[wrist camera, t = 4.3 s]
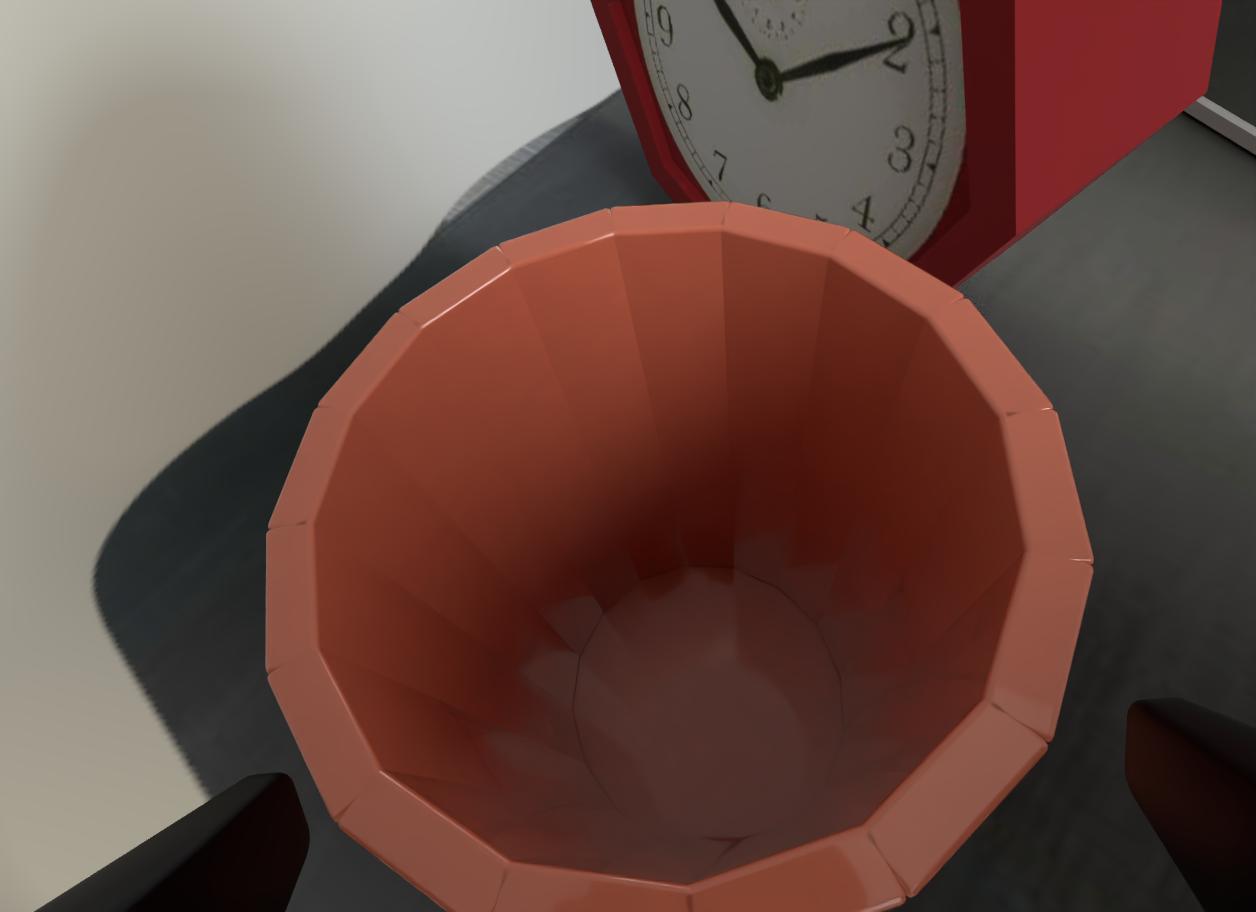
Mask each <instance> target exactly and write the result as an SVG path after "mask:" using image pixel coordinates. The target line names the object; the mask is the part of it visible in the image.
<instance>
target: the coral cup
mask: <svg viewBox="0 0 1256 912" xmlns="http://www.w3.org/2000/svg"><path fill="white" fill-rule="evenodd" d="M318 406H319V407H318V408H316V409H315V410H314V412H313V414H312V417H311V419H310V422H309V424H308V427H307V429H306V432H305V434H304V437H303V439H302V442H301V444H300V447H299V449H298V452H297V454H296V457H295V459H294V462H293V464H292V467H291V469H290V472H289V474H288V477H287V479H286V482H285V484H284V487H283V489H282V492H281V494H280V497H279V499H278V501H277V504H276V506H275V509H274V511H273V514H272V516H271V519H270V521H269V524H268V528H269V531H268V532H267V534H266V671H267V673H268V674H269V675H268V682H269V684H270V686H271V688H272V690H273V693H274V695H275V697H276V699H277V701H278V703H279V706H280V708H281V710H282V712H283V714H284V716H285V719H286V721H287V723H288V725H289V727H290V729H291V732H292V734H293V736H294V738H295V740H296V742H297V745H298V747H299V749H300V751H301V753H302V756H303V758H304V760H305V762H306V764H307V766H308V769H309V771H310V773H311V775H312V777H313V779H314V782H315V784H316V786H317V788H318V790H319V792H320V795H321V797H322V799H323V801H324V803H325V805H326V808H327V810H328V812H329V814H330V816H331V818H332V820H334V821H335V822H336V823H338V826H339V828H340V829H341V831H342V832H344V833H345V834H346V835H348V836H349V837H350V838H352V839H353V840H354V841H355V842H357V843H358V844H359V845H361V846H362V847H363V848H364V849H366V850H367V851H368V852H370V853H371V854H372V855H374V856H375V857H376V858H377V859H379V860H380V861H381V862H383V863H384V864H385V865H387V866H388V867H389V868H390V869H392V870H393V871H394V872H396V873H397V874H398V875H399V876H401V877H402V878H403V879H405V880H406V881H407V882H409V883H410V884H411V885H412V886H414V887H415V888H416V889H418V890H419V891H420V892H421V893H423V894H424V895H425V896H427V897H428V898H429V899H431V900H432V901H433V902H434V903H436V904H437V905H438V906H440V907H441V908H442V909H444V910H445V911H446V912H885V911H888V910H891V909H894V908H897V907H900V906H902V905H903V903H904V902H905V901H906V897H908V898H912V897H915V896H917V895H918V894H919V893H920V892H921V891H922V890H923V888H924V887H925V886H926V885H927V884H928V883H929V882H930V881H931V880H932V879H933V877H934V876H935V875H936V874H937V873H938V872H939V871H940V870H941V869H942V868H943V866H944V865H945V864H946V863H947V862H948V861H949V860H950V859H951V858H952V857H953V855H954V854H955V853H956V852H957V851H958V850H959V849H960V848H961V847H962V846H963V844H964V843H965V842H966V841H967V840H968V839H969V838H970V837H971V836H972V835H973V833H974V832H975V831H976V830H977V829H978V828H979V827H980V826H981V825H982V824H983V822H984V821H985V820H986V819H987V818H988V817H989V816H990V815H991V814H992V813H993V811H994V810H995V809H996V808H997V807H998V806H999V805H1000V804H1001V803H1002V802H1003V800H1004V799H1005V798H1006V797H1007V796H1008V795H1009V794H1010V793H1011V792H1012V790H1013V789H1014V788H1015V787H1016V786H1017V785H1018V784H1019V783H1020V782H1021V781H1022V779H1023V778H1024V777H1025V776H1026V775H1027V774H1028V773H1029V772H1030V771H1031V770H1032V768H1033V767H1034V766H1035V765H1036V764H1037V763H1038V762H1039V761H1040V760H1041V759H1042V757H1043V756H1044V755H1045V754H1046V753H1047V749H1048V745H1047V744H1048V743H1050V742H1051V741H1052V740H1053V739H1054V736H1055V732H1056V728H1057V724H1058V720H1059V715H1060V711H1061V707H1062V703H1063V699H1064V694H1065V690H1066V686H1067V682H1068V678H1069V674H1070V669H1071V665H1072V661H1073V657H1074V653H1075V649H1076V644H1077V640H1078V636H1079V632H1080V628H1081V623H1082V619H1083V615H1084V611H1085V607H1086V603H1087V598H1088V594H1089V590H1090V586H1091V582H1092V578H1093V567H1092V566H1091V565H1093V561H1094V557H1093V553H1092V549H1091V545H1090V541H1089V537H1088V533H1087V529H1086V525H1085V521H1084V517H1083V513H1082V509H1081V505H1080V501H1079V497H1078V493H1077V489H1076V485H1075V481H1074V477H1073V473H1072V469H1071V465H1070V461H1069V457H1068V453H1067V449H1066V445H1065V441H1064V437H1063V433H1062V429H1061V425H1060V421H1059V417H1058V413H1057V412H1056V411H1055V410H1053V405H1052V403H1051V402H1050V400H1049V399H1048V398H1047V397H1046V395H1045V394H1044V393H1043V391H1042V390H1041V389H1040V388H1039V386H1038V385H1037V384H1036V383H1035V381H1034V380H1033V379H1032V378H1031V376H1030V375H1029V374H1028V373H1027V371H1026V370H1025V369H1024V368H1023V366H1022V365H1021V364H1020V363H1019V361H1018V360H1017V359H1016V358H1015V356H1014V355H1013V354H1012V353H1011V351H1010V350H1009V349H1008V348H1007V346H1006V345H1005V344H1004V343H1003V341H1002V340H1001V339H1000V337H999V336H998V335H997V334H996V332H995V331H994V330H993V329H992V327H991V326H990V325H989V324H988V322H987V321H986V320H985V319H984V317H983V316H982V315H981V314H980V312H979V311H978V310H977V309H976V307H975V306H974V305H973V304H972V302H971V301H970V300H969V299H967V298H964V295H963V294H962V293H961V292H959V291H958V290H956V289H954V288H953V287H951V286H949V285H948V284H946V283H944V282H942V281H941V280H939V279H937V278H936V277H934V276H932V275H931V274H929V273H927V272H926V271H924V270H922V269H921V268H919V267H917V266H915V265H914V264H912V263H910V262H909V261H907V260H905V259H904V258H902V257H900V256H899V255H897V254H895V253H894V252H892V251H890V250H888V249H887V248H885V247H883V246H882V245H880V244H878V243H877V242H875V241H873V240H872V239H870V238H868V237H867V236H865V235H863V234H862V233H860V232H858V231H856V230H852V231H851V230H850V228H848V227H845V226H841V225H836V224H832V223H828V222H823V221H819V220H814V219H810V218H806V217H801V216H797V215H793V214H788V213H784V212H779V211H775V210H771V209H766V208H762V207H757V206H753V205H749V204H744V203H740V202H735V201H734V202H731V203H729V202H728V201H711V202H693V203H674V204H656V205H637V206H619V207H613V208H612V209H611V210H610V209H607V208H606V209H603V210H600V211H597V212H594V213H591V214H588V215H584V216H581V217H578V218H575V219H572V220H569V221H566V222H563V223H560V224H557V225H554V226H551V227H548V228H545V229H542V230H539V231H536V232H533V233H530V234H527V235H524V236H521V237H518V238H515V239H512V240H509V241H505V242H502V243H501V244H499V247H498V246H494V247H492V248H491V249H489V250H488V251H486V252H485V253H483V254H481V255H480V256H478V257H477V258H475V259H474V260H472V261H471V262H469V263H468V264H466V265H465V266H463V267H462V268H460V269H459V270H457V271H456V272H454V273H453V274H451V275H450V276H448V277H447V278H445V279H444V280H442V281H441V282H439V283H438V284H436V285H435V286H433V287H432V288H430V289H428V290H427V291H425V292H424V293H422V294H421V295H419V296H418V297H416V298H415V299H413V300H412V301H410V302H409V303H407V304H406V305H404V306H403V307H401V308H400V309H399V313H395V314H393V315H392V317H391V318H390V319H389V320H388V321H387V323H386V324H385V325H384V326H383V327H382V328H381V330H380V331H379V332H378V333H377V334H376V336H375V337H374V338H373V339H372V340H371V341H370V343H369V344H368V345H367V346H366V347H365V349H364V350H363V351H362V352H361V353H360V354H359V356H358V357H357V358H356V359H355V360H354V362H353V363H352V364H351V365H350V366H349V367H348V369H347V370H346V371H345V372H344V373H343V375H342V376H341V377H340V378H339V379H338V380H337V382H336V383H335V384H334V385H333V386H332V387H331V389H330V390H329V391H328V392H327V393H326V395H325V396H324V397H323V398H322V399H321V400H320V402H319V404H318Z"/></svg>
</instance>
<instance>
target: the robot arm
mask: <svg viewBox="0 0 1256 912" xmlns="http://www.w3.org/2000/svg"><path fill="white" fill-rule="evenodd" d="M1125 774H1126V779H1127V782H1128V785H1129V788H1130V790H1131V792H1132V794H1133V796H1134V798H1135V800H1136V801H1137V803H1138V805H1139V806H1140V808H1141V809H1142V811H1143V813H1144V814H1145V816H1146V817H1147V819H1148V821H1149V822H1150V824H1151V825H1152V827H1153V829H1154V830H1155V832H1156V834H1157V835H1158V837H1159V838H1160V840H1161V842H1162V843H1163V845H1164V846H1165V848H1166V850H1167V851H1168V853H1169V855H1170V856H1171V858H1172V859H1173V861H1174V863H1175V864H1176V866H1177V867H1178V869H1179V871H1180V872H1181V874H1182V875H1183V877H1184V879H1185V880H1186V882H1187V884H1188V885H1189V887H1190V888H1191V890H1192V892H1193V893H1194V895H1195V896H1196V898H1197V900H1198V901H1199V903H1200V904H1201V906H1202V908H1203V909H1204V911H1205V912H1256V728H1254V727H1251V726H1249V725H1247V724H1244V723H1242V722H1239V721H1237V720H1234V719H1232V718H1229V717H1227V716H1224V715H1222V714H1219V713H1217V712H1214V711H1212V710H1209V709H1207V708H1204V707H1202V706H1199V705H1197V704H1194V703H1192V702H1189V701H1187V700H1184V699H1181V698H1160V699H1148V700H1139V701H1136V702H1134V703H1133V704H1132V705H1131V706H1130V708H1129V710H1128V715H1127V733H1126V752H1125ZM309 841H310V835H309V828H308V824H307V821H306V818H305V815H304V812H303V809H302V806H301V803H300V800H299V797H298V794H297V792H296V789H295V786H294V783H293V781H292V779H291V778H290V777H289V776H288V775H287V774H284V773H268V774H256V775H251V776H248V777H246V778H244V779H243V780H241V781H239V782H238V783H236V784H235V785H233V786H232V787H230V788H228V789H227V790H225V791H224V792H222V793H221V794H219V795H217V796H216V797H214V798H213V799H211V800H209V801H208V802H206V803H205V804H203V805H202V806H200V807H198V808H197V809H195V810H194V811H192V812H191V813H189V814H187V815H186V816H184V817H183V818H181V819H180V820H178V821H176V822H175V823H173V824H172V825H170V826H169V827H167V828H165V829H164V830H162V831H161V832H159V833H157V834H156V835H154V836H153V837H151V838H150V839H148V840H146V841H145V842H143V843H142V844H140V845H139V846H137V847H136V848H134V849H132V850H131V851H129V852H128V853H126V854H125V855H123V856H121V857H120V858H118V859H116V860H115V861H113V862H112V863H110V864H109V865H107V866H105V867H104V868H102V869H101V870H99V871H98V872H96V873H94V874H93V875H91V876H90V877H88V878H86V879H85V880H83V881H82V882H80V883H79V884H77V885H76V886H74V887H72V888H71V889H69V890H68V891H66V892H64V893H63V894H61V895H60V896H58V897H56V898H55V899H53V900H52V901H50V902H49V903H47V904H46V905H44V906H42V907H41V908H39V909H38V910H36V911H34V912H285V911H286V909H287V906H288V903H289V901H290V898H291V895H292V893H293V890H294V888H295V885H296V882H297V880H298V877H299V875H300V872H301V869H302V867H303V864H304V861H305V859H306V856H307V853H308V848H309Z"/></svg>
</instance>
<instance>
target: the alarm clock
mask: <svg viewBox="0 0 1256 912" xmlns="http://www.w3.org/2000/svg"><path fill="white" fill-rule="evenodd" d="M591 3H592V6H593V9H594V12H595V15H596V17H597V20H598V23H599V26H600V29H601V31H602V34H603V37H604V40H605V43H606V46H607V48H608V51H609V54H610V57H611V60H612V63H613V66H614V68H615V71H616V74H617V77H618V80H619V83H620V85H621V88H622V91H623V94H624V97H625V99H626V102H627V105H628V108H629V111H630V114H631V116H632V119H633V122H634V125H635V128H636V131H637V133H638V136H639V139H640V142H641V145H642V148H643V150H644V153H645V156H646V159H647V162H648V164H649V167H650V170H651V173H652V176H653V177H654V178H655V179H656V181H657V182H658V183H659V184H660V185H661V187H662V188H663V189H664V190H665V192H666V193H667V194H668V195H669V197H670V198H671V199H672V200H673V201H674V203H693V202H711V201H728V202H729V203H731V202H734V201H735V202H740V203H744V204H749V205H753V206H757V207H762V208H766V209H771V210H775V211H779V212H784V213H788V214H793V215H797V216H801V217H806V218H810V219H814V220H819V221H823V222H828V223H832V224H836V225H841V226H845V227H848V228H850V230H851V231H852V230H856V231H858V232H860V233H862V234H863V235H865V236H867V237H868V238H870V239H872V240H873V241H875V242H877V243H878V244H880V245H882V246H883V247H885V248H887V249H888V250H890V251H892V252H894V253H895V254H897V255H899V256H900V257H902V258H904V259H905V260H907V261H909V262H910V263H912V264H914V265H915V266H917V267H919V268H921V269H922V270H924V271H926V272H927V273H929V274H931V275H932V276H934V277H936V278H937V279H939V280H941V281H942V282H944V283H946V284H948V285H949V286H951V287H953V288H954V289H955V288H956V287H958V286H959V285H960V284H962V283H963V282H964V281H966V280H967V279H968V278H970V277H971V276H972V275H974V274H975V273H976V272H977V271H979V270H980V269H981V268H983V267H984V266H985V265H987V264H988V263H989V262H991V261H992V260H993V259H995V258H996V257H997V256H999V255H1000V254H1001V253H1003V252H1004V251H1005V250H1007V249H1008V248H1009V247H1011V246H1012V245H1013V244H1015V243H1016V242H1017V241H1019V240H1020V239H1021V238H1023V237H1024V236H1025V235H1027V234H1028V233H1029V232H1030V231H1032V230H1033V229H1034V228H1035V227H1037V226H1038V225H1039V224H1040V223H1042V222H1043V221H1044V220H1046V219H1047V218H1048V217H1049V216H1051V215H1052V214H1053V213H1054V212H1056V211H1057V210H1058V209H1059V208H1061V207H1062V206H1063V205H1065V204H1066V203H1067V202H1068V201H1070V200H1071V199H1072V198H1073V197H1075V196H1076V195H1077V194H1078V193H1080V192H1081V191H1082V190H1084V189H1085V188H1086V187H1087V186H1089V185H1090V184H1091V183H1092V182H1094V181H1095V180H1096V179H1097V178H1099V177H1100V176H1101V175H1103V174H1104V173H1105V172H1106V171H1108V170H1109V169H1110V168H1111V167H1113V166H1114V165H1115V164H1117V163H1118V162H1119V161H1120V160H1122V159H1123V158H1124V157H1125V156H1127V155H1128V154H1129V153H1130V152H1132V151H1133V150H1134V149H1136V148H1137V147H1138V146H1139V145H1141V144H1142V143H1143V142H1144V141H1146V140H1147V139H1148V138H1149V137H1151V136H1152V135H1153V134H1155V133H1156V132H1157V131H1158V130H1160V129H1161V128H1162V127H1163V126H1165V125H1166V124H1167V123H1168V122H1170V121H1171V120H1172V119H1174V118H1175V117H1176V116H1177V115H1179V114H1180V113H1181V112H1182V111H1184V110H1185V109H1186V108H1188V107H1189V106H1190V105H1191V104H1193V103H1194V102H1195V101H1196V100H1198V99H1199V98H1200V97H1201V96H1203V95H1204V94H1205V93H1207V90H1208V84H1209V78H1210V72H1211V66H1212V60H1213V54H1214V48H1215V42H1216V36H1217V30H1218V24H1219V18H1220V12H1221V6H1222V0H591Z"/></svg>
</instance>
